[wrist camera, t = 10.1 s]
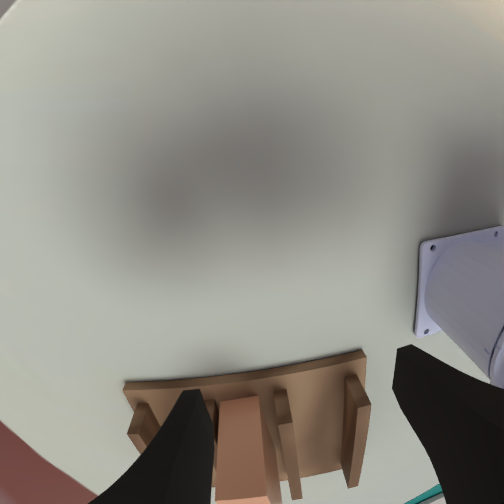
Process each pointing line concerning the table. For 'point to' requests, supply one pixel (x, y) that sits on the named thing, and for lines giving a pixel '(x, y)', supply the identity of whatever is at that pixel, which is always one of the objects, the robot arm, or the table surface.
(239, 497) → the orange-brown angular block
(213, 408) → the dish rack
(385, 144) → the table surface
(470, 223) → the table surface
